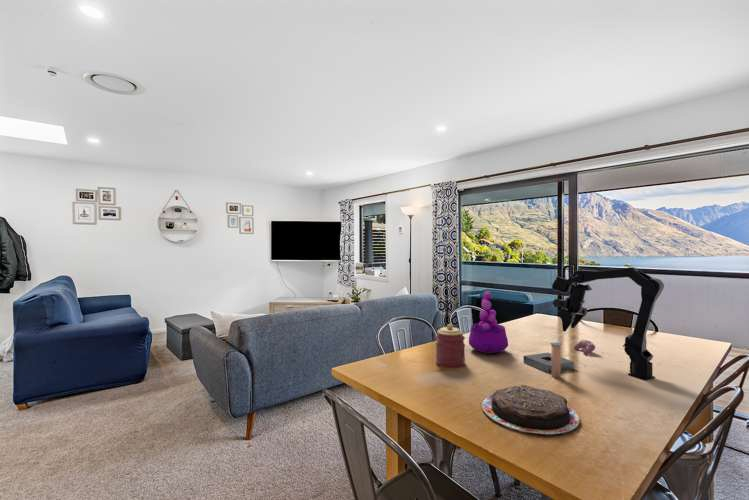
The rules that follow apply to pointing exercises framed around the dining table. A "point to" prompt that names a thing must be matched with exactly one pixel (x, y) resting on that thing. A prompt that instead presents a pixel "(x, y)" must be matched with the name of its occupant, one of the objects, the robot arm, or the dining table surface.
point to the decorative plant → (488, 330)
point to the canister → (450, 347)
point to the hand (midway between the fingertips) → (568, 329)
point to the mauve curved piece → (585, 346)
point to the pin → (555, 358)
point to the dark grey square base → (546, 362)
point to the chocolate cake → (531, 410)
